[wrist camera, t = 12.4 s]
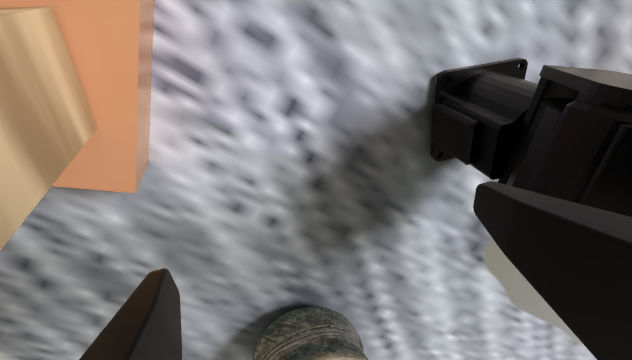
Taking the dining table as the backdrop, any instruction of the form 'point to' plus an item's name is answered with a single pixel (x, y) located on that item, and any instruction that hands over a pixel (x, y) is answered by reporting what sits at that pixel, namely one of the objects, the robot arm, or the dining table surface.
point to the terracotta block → (108, 86)
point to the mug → (309, 337)
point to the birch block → (36, 111)
